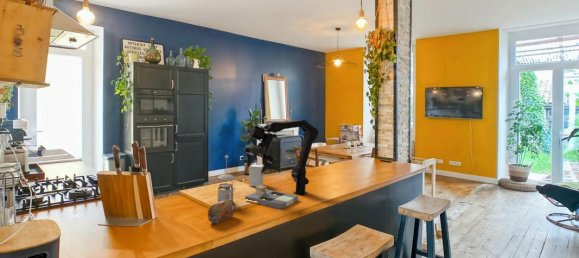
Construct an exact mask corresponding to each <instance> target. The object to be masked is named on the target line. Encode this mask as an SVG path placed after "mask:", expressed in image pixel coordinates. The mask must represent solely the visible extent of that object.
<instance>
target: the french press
mask: <svg viewBox="0 0 579 258" xmlns="http://www.w3.org/2000/svg"><path fill="white" fill-rule="evenodd" d="M224 158H225V159H226V162H225V165H226V168H225V174H221V175H219V176H218V177H217V178H218V180H220V181H229V182H231V183H227V182H225V183H220V184H219V185H218V188H217V202H221V201H224V200H232V201H233V202H234V192H235V189H236V187H234V182H236V180H235V177H234V176H233V175H232V174H228V173H227V172H228V171H227V170H228V166H227V165H228V158H230V157H229V155H227V154H226V155H224ZM233 181H234V182H233Z"/></svg>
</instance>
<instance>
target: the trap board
mask: <svg viewBox="0 0 579 258" xmlns="http://www.w3.org/2000/svg"><path fill="white" fill-rule="evenodd" d="M274 194H276V195H274ZM244 198H245V199H248V200H252V201H257V202H258V204H257V205H261V206H265V207H269V208H274V209H278V210H282V208H283V209H285V208H286V207H288V206H290V205H292V204H294V203H295V202H297V201H298V200H299V195H298V194H292V193H286V192H281V191H277V190H276V191H275V190H270V189H267V188H266V194H264V195H259V194H256V191H255V192H252V193H251V194H248V195H245V196H244ZM245 199H244V200H245ZM263 199H265V200H263Z"/></svg>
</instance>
